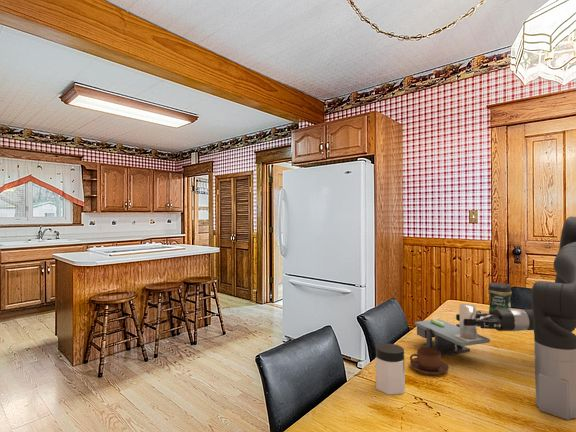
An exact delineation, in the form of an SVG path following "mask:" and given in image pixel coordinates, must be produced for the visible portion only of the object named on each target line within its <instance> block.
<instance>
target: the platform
mask: <svg viewBox="0 0 576 432" xmlns="http://www.w3.org/2000/svg"><path fill="white" fill-rule="evenodd" d="M414 326H416V335H417V336H419V337H421V338H423V339H426V328H430V329H432V339H433V338H435V337H434V334H436V335H438V336H440V337H442V338H444V339H446V340H449V341H451V342H453V343H455V344H457V345H460V346H465V347H468V346H476V345H482V344H487V343H488V344H489V343H491V338H489V337H486V336H484V335H481V334H478V333H477V339H473V340H470V339H464V338H462V337H460V327H458V326H456V325H455V324H453V323H451V322H447V321H445V320H443V319H440V318H438V319H435V318H430V319H428V320H420V321H414Z"/></svg>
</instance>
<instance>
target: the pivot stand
mask: <svg viewBox="0 0 576 432" xmlns="http://www.w3.org/2000/svg"><path fill="white" fill-rule="evenodd" d="M456 326H458V327H460V323H457V324H456ZM433 338H434V344H433ZM433 338H432V329H430V328H426V338H425V339H426V345H421V346H420V348H433V349H436V350H438V351H440V353H441V357H442V356H449V355H455V354H456V355H457V354H463V353H469V352H471V348H470V347H468V346H460V345H457V344H455V343H453V342H451V341H449V340H446V339H444V338H442V337H440V336H438V335H436V334H434V337H433Z"/></svg>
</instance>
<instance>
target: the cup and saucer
mask: <svg viewBox="0 0 576 432" xmlns="http://www.w3.org/2000/svg"><path fill="white" fill-rule="evenodd" d="M441 358H442V356H441V353H440V351H438V350H436V349H433V348H417V350H416V353H412V354H411V355H410V356H409V360H410V362H409V364H410V366H411V367H412V369H414V370H415V371H417V372H420V373H423V374H426V375H431V376H432V375H442V374H445V373H447V372H448V371H449V367H450V366H449V364H448V363H447V362H445V361H442V359H441Z"/></svg>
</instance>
